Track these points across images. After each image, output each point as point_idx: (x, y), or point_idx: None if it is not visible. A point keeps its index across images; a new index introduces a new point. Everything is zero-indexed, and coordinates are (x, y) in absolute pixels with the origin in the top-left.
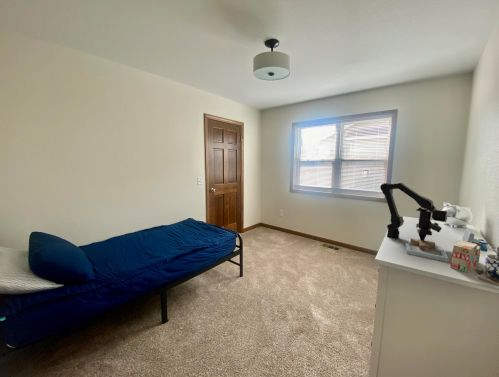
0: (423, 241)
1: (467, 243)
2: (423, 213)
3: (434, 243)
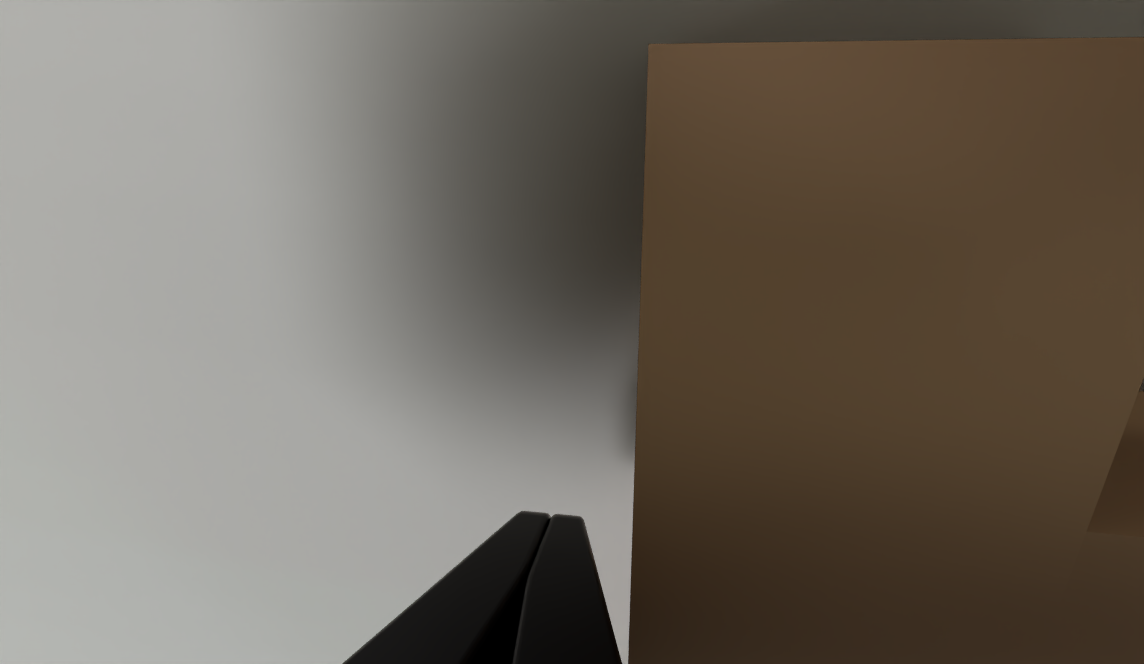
0: (908, 655)
1: None
2: None
3: (1079, 95)
